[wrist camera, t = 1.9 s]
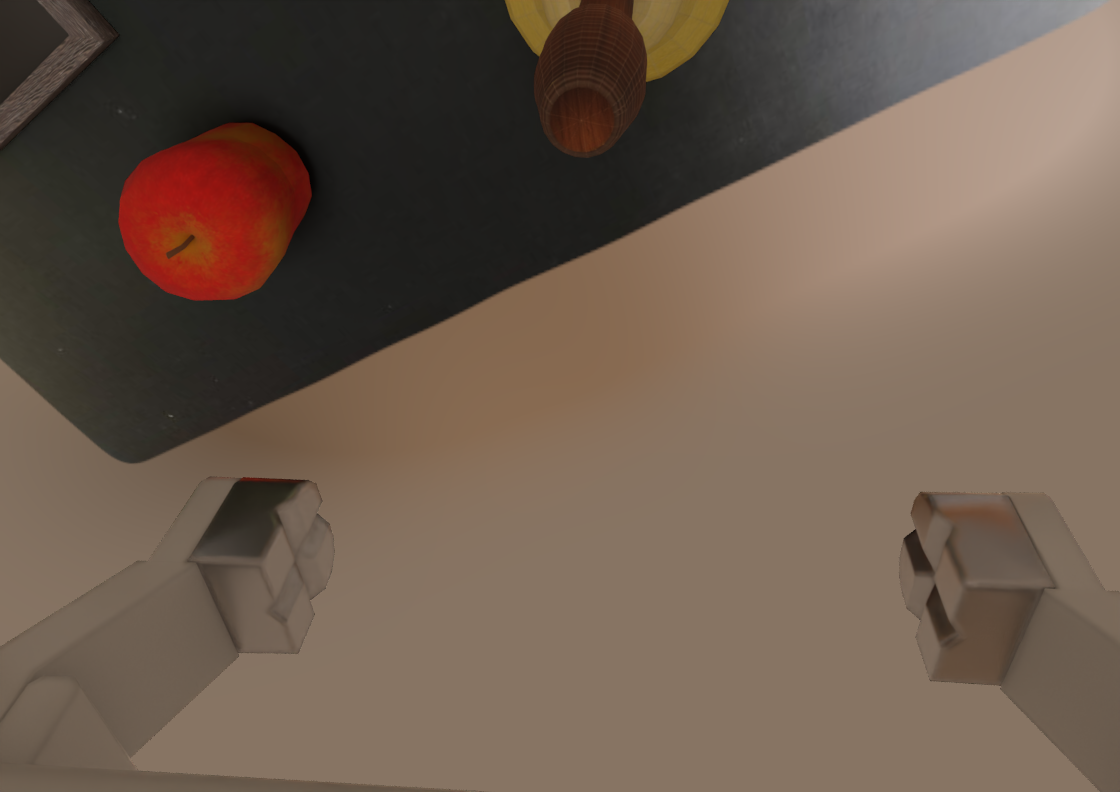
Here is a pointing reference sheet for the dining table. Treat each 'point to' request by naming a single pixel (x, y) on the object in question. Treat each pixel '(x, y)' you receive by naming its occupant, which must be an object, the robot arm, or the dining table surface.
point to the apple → (214, 211)
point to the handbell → (605, 60)
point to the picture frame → (44, 54)
